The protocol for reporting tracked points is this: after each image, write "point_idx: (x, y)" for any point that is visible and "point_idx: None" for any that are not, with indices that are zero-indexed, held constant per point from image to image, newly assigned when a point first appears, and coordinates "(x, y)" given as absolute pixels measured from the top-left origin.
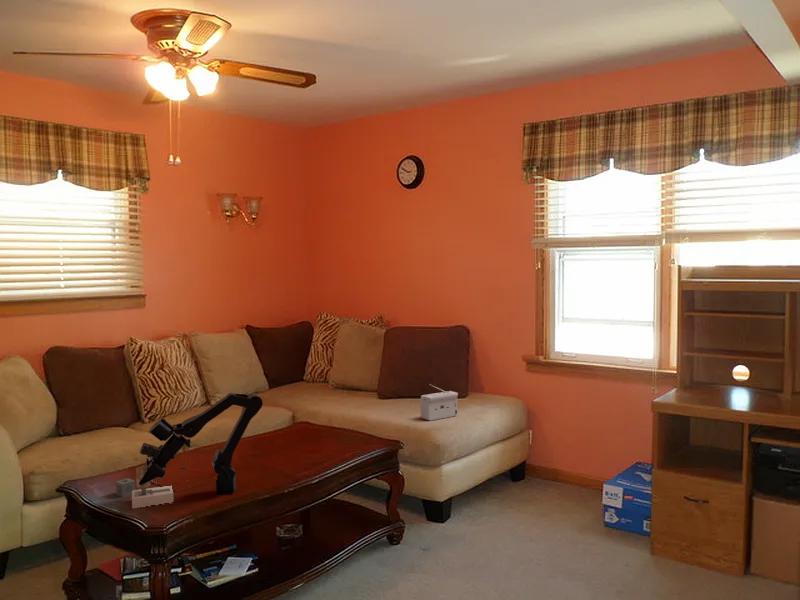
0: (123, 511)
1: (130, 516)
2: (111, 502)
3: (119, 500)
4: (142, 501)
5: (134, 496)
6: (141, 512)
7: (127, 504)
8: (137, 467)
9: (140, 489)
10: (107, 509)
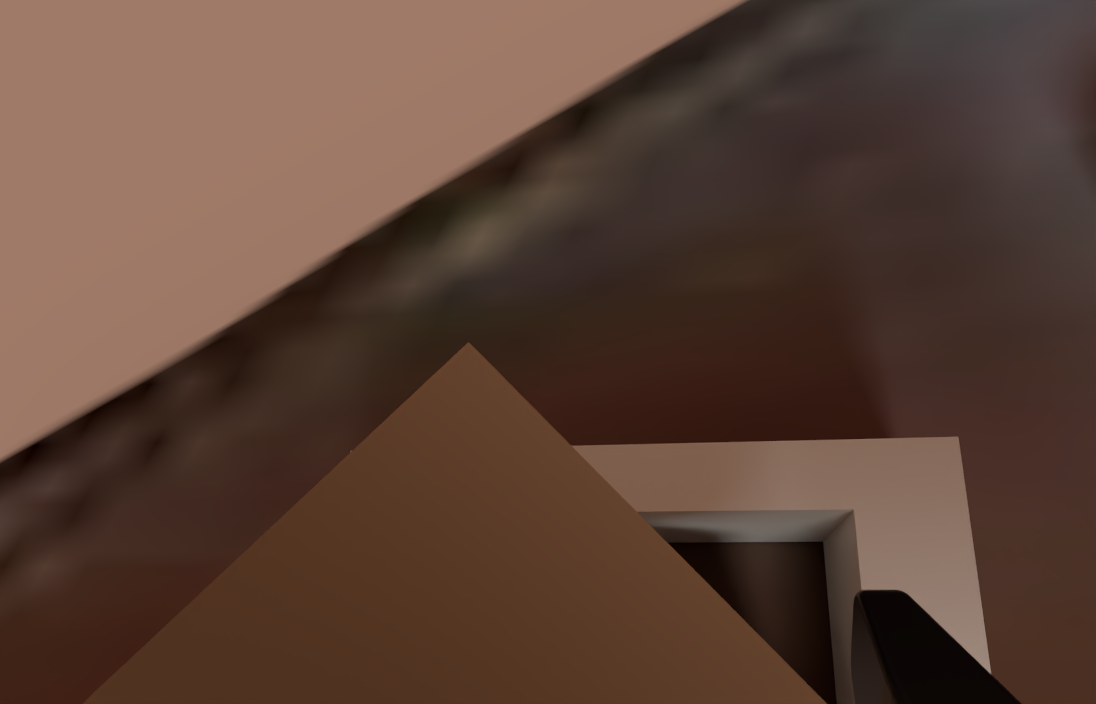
0: (360, 355)
1: (86, 468)
2: (896, 140)
3: (967, 258)
4: None
5: None
6: None
7: (683, 405)
8: (560, 440)
9: (984, 661)
10: (566, 119)
